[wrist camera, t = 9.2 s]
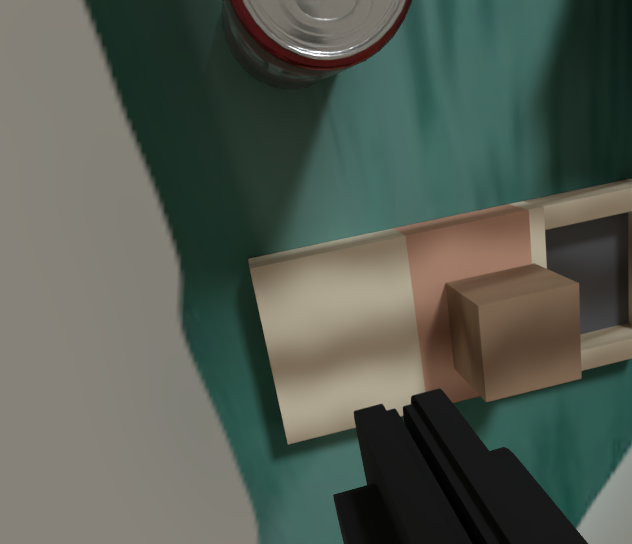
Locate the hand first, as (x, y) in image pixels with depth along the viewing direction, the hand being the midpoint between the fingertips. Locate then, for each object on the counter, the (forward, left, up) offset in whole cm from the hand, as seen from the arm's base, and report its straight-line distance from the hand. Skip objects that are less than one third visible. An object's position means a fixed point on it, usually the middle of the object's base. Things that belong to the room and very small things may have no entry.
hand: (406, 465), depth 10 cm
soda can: (-11, +3, -25) cm, 27 cm away
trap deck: (+8, +11, -25) cm, 28 cm away
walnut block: (+8, +12, -22) cm, 27 cm away
